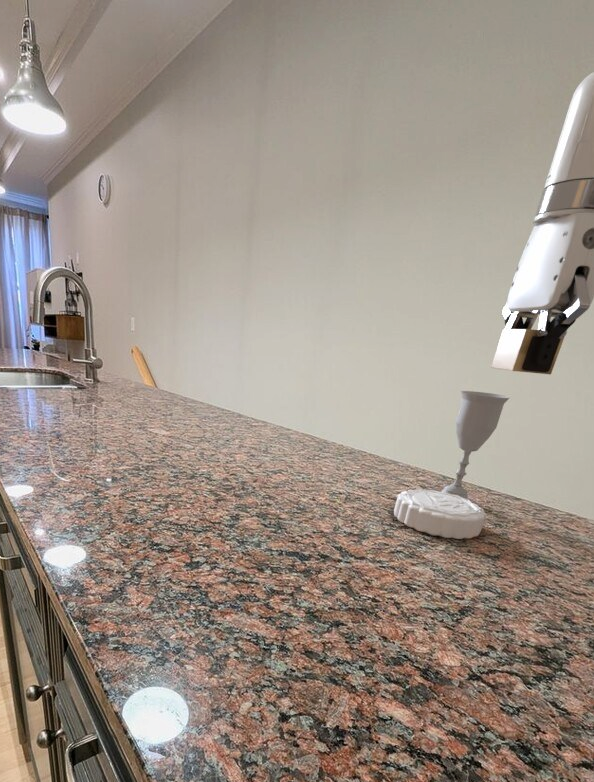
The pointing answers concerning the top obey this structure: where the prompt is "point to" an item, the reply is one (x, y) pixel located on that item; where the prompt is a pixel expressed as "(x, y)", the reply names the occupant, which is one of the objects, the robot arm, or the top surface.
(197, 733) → the top surface
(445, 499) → the mooncake
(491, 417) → the chalice
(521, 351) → the block
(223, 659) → the top surface
